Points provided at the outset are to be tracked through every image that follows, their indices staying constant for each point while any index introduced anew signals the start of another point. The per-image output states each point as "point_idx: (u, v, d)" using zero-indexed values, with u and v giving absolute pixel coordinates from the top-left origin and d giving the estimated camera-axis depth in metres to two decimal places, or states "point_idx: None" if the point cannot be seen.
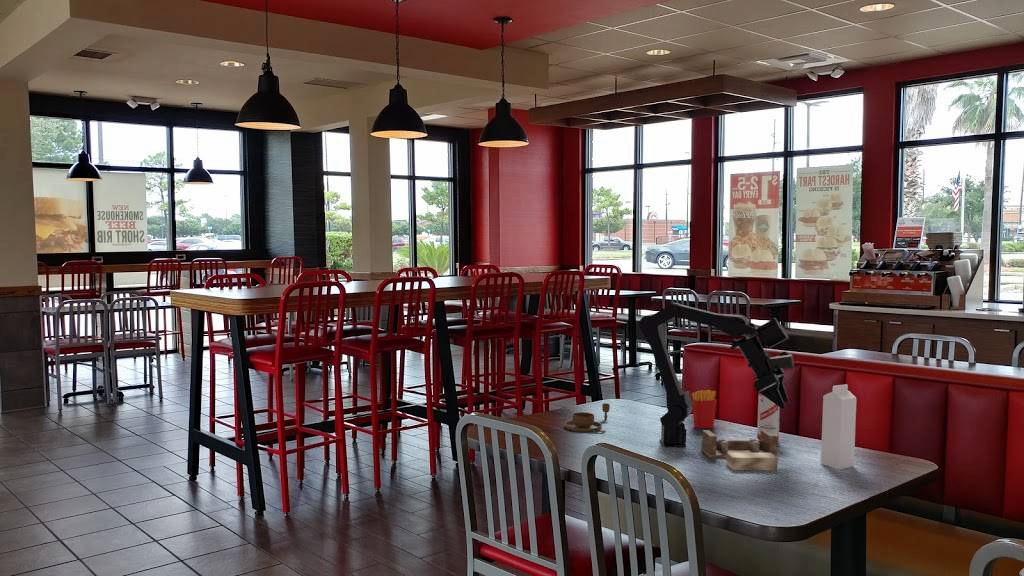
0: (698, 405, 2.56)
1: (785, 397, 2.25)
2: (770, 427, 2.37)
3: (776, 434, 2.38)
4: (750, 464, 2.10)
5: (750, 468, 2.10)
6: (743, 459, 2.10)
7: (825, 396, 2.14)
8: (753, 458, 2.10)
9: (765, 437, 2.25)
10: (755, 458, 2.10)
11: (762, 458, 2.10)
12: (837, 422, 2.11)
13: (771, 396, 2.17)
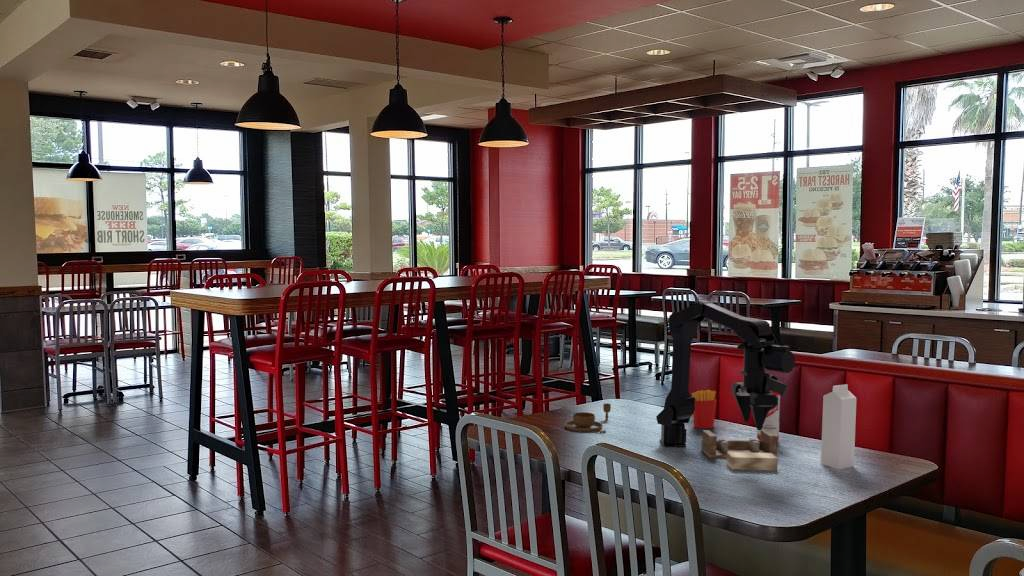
0: (698, 405, 2.56)
1: (748, 416, 2.16)
2: (770, 427, 2.37)
3: (776, 434, 2.38)
4: (750, 464, 2.10)
5: (749, 468, 2.10)
6: (742, 459, 2.10)
7: (825, 396, 2.14)
8: (752, 458, 2.10)
9: (765, 437, 2.25)
10: (754, 458, 2.10)
11: (762, 458, 2.10)
12: (838, 422, 2.11)
13: (758, 414, 2.06)
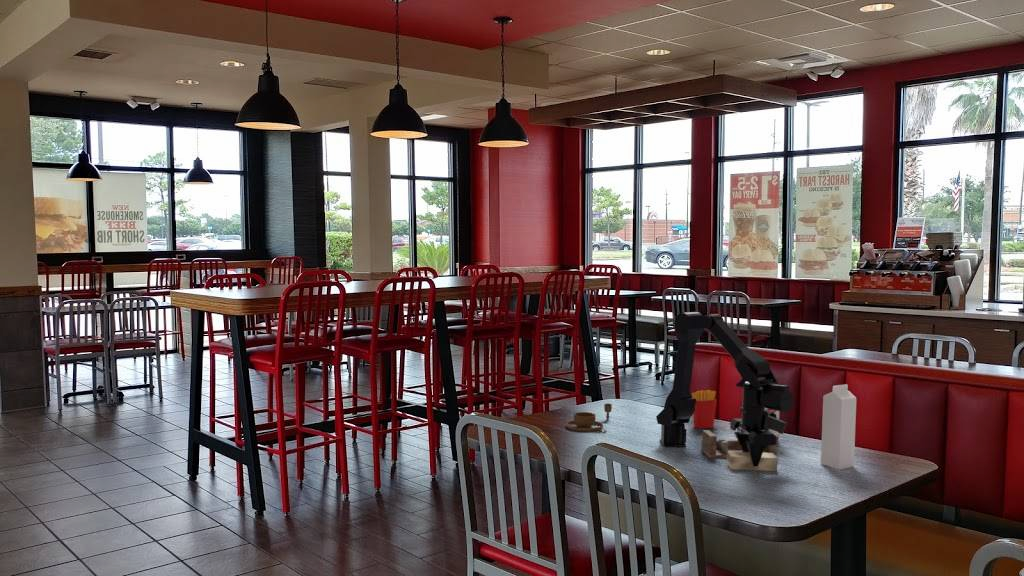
0: (698, 405, 2.56)
1: None
2: None
3: (776, 434, 2.38)
4: (749, 463, 2.10)
5: (749, 467, 2.10)
6: (742, 458, 2.10)
7: (825, 396, 2.14)
8: None
9: None
10: None
11: (761, 458, 2.10)
12: (837, 422, 2.11)
13: (754, 451, 2.08)
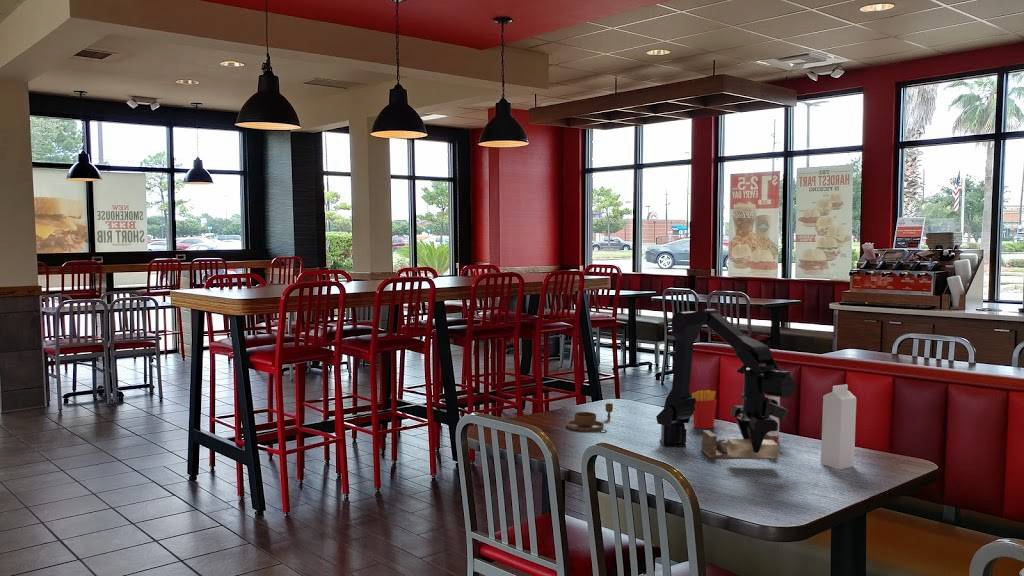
0: (698, 405, 2.56)
1: None
2: None
3: (776, 434, 2.38)
4: (750, 450, 2.10)
5: (750, 454, 2.10)
6: (742, 445, 2.10)
7: (825, 396, 2.14)
8: None
9: (765, 437, 2.25)
10: None
11: (762, 445, 2.10)
12: (837, 422, 2.11)
13: (755, 437, 2.08)
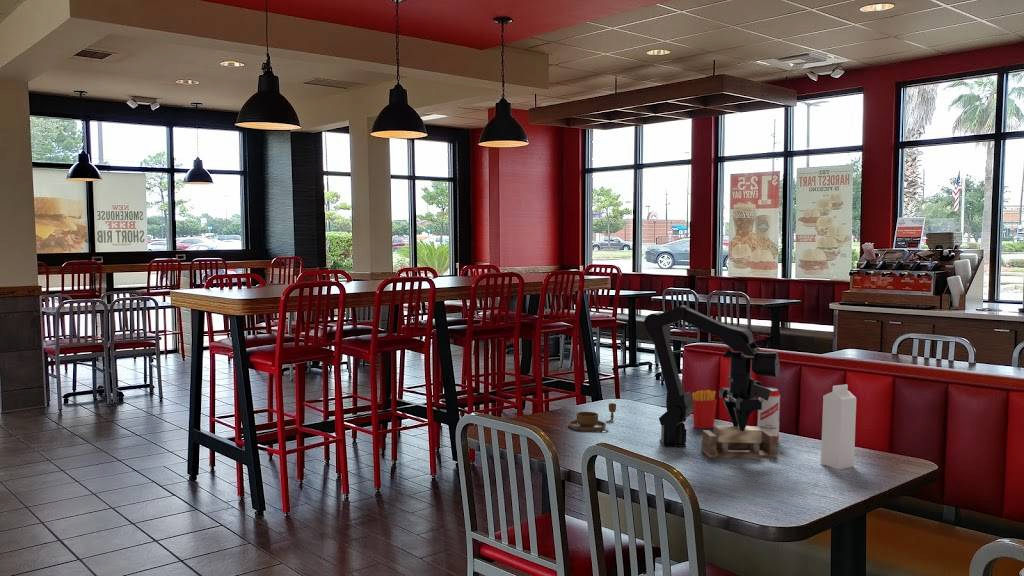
0: (698, 405, 2.56)
1: (737, 422, 2.28)
2: (770, 427, 2.37)
3: (776, 434, 2.38)
4: (736, 436, 2.23)
5: (735, 440, 2.23)
6: (728, 431, 2.23)
7: (825, 396, 2.14)
8: (738, 430, 2.23)
9: (765, 437, 2.25)
10: None
11: (747, 430, 2.23)
12: (837, 422, 2.11)
13: (740, 416, 2.21)
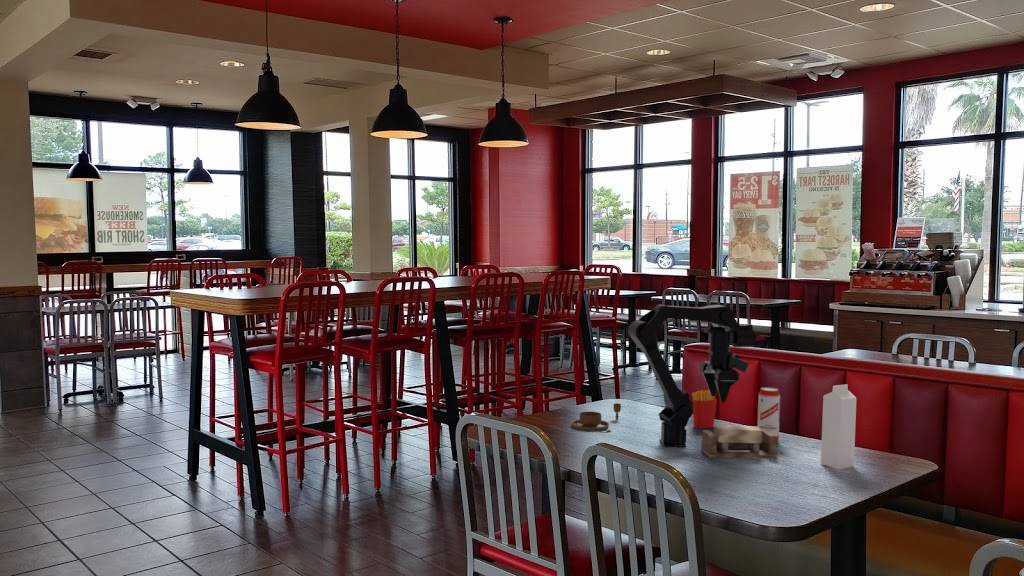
0: (698, 405, 2.56)
1: (714, 392, 2.42)
2: (770, 427, 2.37)
3: (776, 434, 2.38)
4: (736, 436, 2.23)
5: (735, 440, 2.23)
6: (728, 431, 2.23)
7: (825, 396, 2.14)
8: (738, 430, 2.23)
9: (765, 437, 2.25)
10: (740, 430, 2.23)
11: (747, 431, 2.23)
12: (838, 422, 2.11)
13: (721, 388, 2.31)
